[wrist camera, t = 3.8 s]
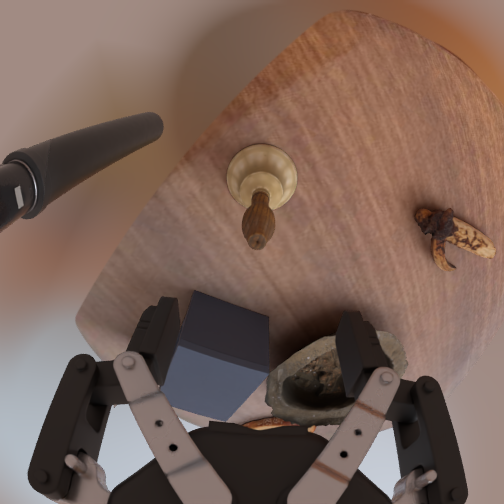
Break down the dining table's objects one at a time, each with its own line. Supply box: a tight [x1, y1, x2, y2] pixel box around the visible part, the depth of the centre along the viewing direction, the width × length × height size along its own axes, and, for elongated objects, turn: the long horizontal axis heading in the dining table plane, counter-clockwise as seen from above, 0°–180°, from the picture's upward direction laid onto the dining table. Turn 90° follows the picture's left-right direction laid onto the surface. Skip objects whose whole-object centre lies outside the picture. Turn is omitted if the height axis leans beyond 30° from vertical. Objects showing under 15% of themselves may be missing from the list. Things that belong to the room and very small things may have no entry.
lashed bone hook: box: [415, 208, 496, 271], centre depth 35 cm, size 9×5×18 cm
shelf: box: [159, 290, 269, 422], centre depth 43 cm, size 12×16×11 cm
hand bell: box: [227, 144, 297, 250], centre depth 27 cm, size 8×8×16 cm
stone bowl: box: [265, 330, 408, 428], centre depth 46 cm, size 25×25×9 cm
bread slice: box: [242, 417, 316, 433], centre depth 63 cm, size 18×18×4 cm
